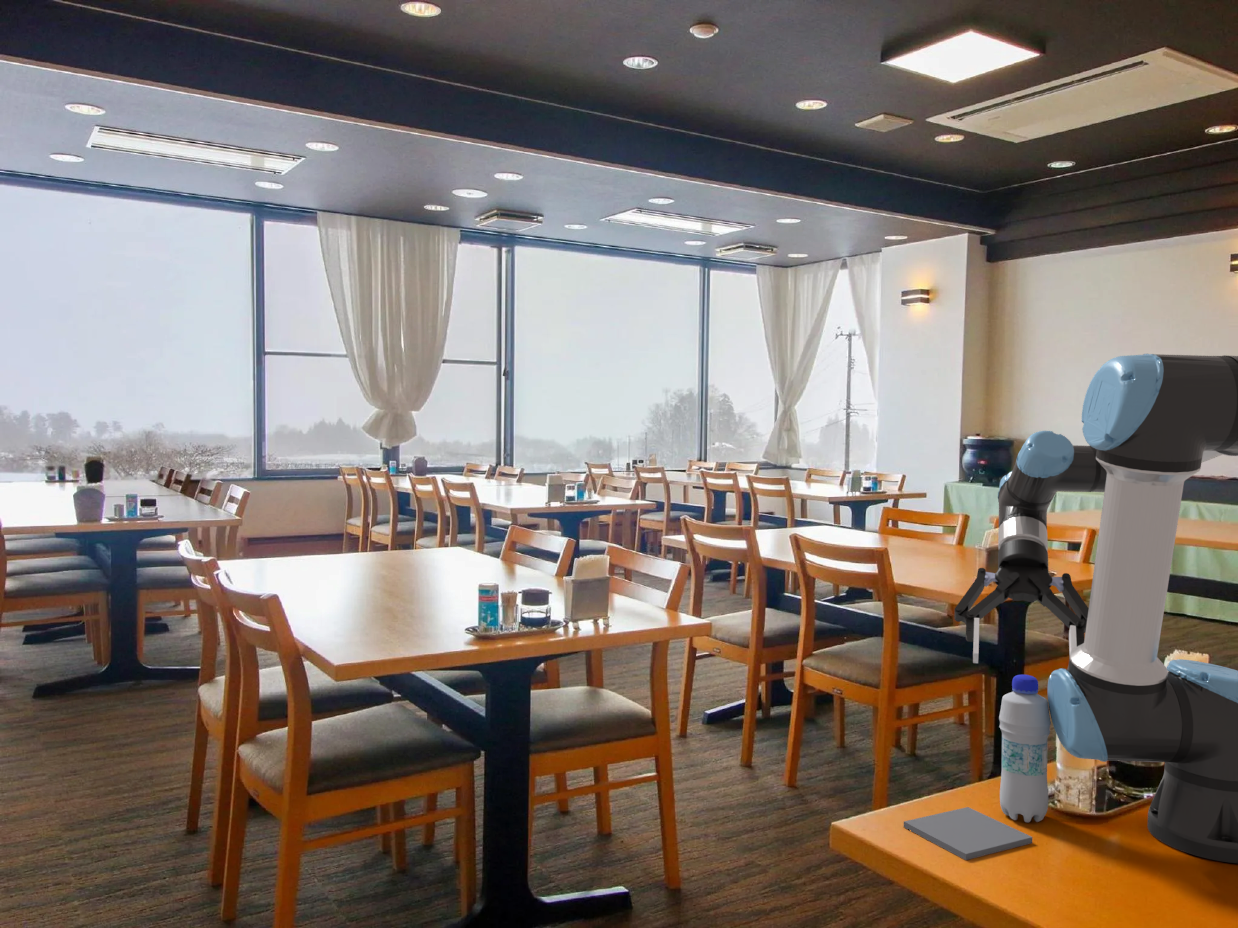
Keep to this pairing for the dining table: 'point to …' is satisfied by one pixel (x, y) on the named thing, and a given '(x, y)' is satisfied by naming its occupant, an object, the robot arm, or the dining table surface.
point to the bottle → (1024, 750)
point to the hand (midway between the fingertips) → (1024, 663)
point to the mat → (967, 833)
